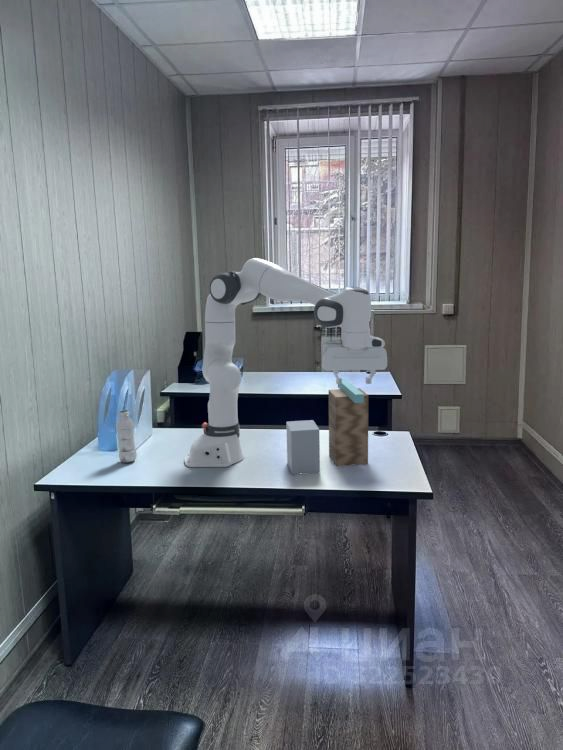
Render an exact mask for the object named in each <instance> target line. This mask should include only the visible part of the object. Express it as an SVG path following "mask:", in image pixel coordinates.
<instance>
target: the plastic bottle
mask: <svg viewBox="0 0 563 750" xmlns="http://www.w3.org/2000/svg"><path fill="white" fill-rule="evenodd" d="M134 425H135V424H134V421H133V420H132V419H131V418H130V410H128V409H124V410H119V411H118V420H117V422H116V423H115V427H116V428H115V429H116V433H117V436H118V438H117V439H118V444H119V445H118V446H119V449H118V458H119V461H120V462H121V463H124V464H126V463H127V464H128V463H133V462H134V461H136V459H137V454H138V453H137V450H136V448H135V442H134V441H135V440H134V430H135V426H134Z"/></svg>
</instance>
